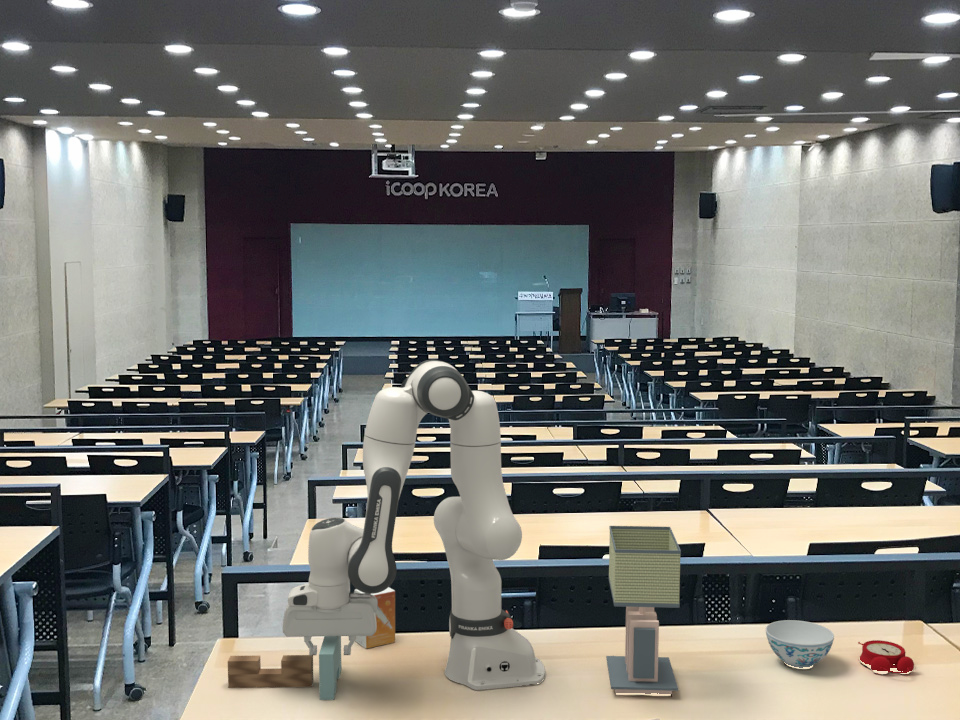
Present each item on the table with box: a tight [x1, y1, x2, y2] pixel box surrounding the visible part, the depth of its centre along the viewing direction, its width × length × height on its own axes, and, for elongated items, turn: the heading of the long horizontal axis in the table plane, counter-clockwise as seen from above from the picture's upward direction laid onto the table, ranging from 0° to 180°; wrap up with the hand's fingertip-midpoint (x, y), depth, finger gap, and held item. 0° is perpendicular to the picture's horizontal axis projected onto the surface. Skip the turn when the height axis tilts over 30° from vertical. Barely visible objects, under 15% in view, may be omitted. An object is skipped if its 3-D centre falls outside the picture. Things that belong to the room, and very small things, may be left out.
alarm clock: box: [857, 639, 915, 674], centre depth 241 cm, size 10×6×15 cm
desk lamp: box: [606, 525, 682, 695], centre depth 230 cm, size 18×14×33 cm
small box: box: [353, 586, 396, 650], centre depth 254 cm, size 8×6×13 cm
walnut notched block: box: [227, 654, 314, 689], centre depth 230 cm, size 18×3×6 cm, turn 92°
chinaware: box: [765, 619, 835, 668], centre depth 242 cm, size 15×15×8 cm
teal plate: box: [318, 636, 342, 701], centre depth 231 cm, size 3×16×10 cm, turn 2°
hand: (330, 654), depth 230 cm, fingers open, 6 cm apart
